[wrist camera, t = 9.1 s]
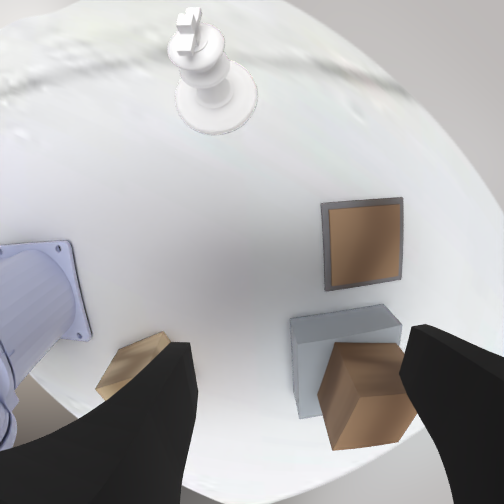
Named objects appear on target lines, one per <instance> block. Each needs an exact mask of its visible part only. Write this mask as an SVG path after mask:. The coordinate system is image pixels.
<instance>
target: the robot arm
mask: <svg viewBox="0 0 504 504" xmlns="http://www.w3.org/2000/svg"><path fill="white" fill-rule="evenodd" d="M59 246H60V247H61V251H60V250H59ZM79 333H80V334H81V335H82V336H81V335H80V334H79ZM91 337H92V335H91V331H90V328H89V324H88V321H87V317H86V313H85V310H84V306H83V302H82V298H81V293H80V289H79V285H78V280H77V275H76V270H75V265H74V260H73V254H72V248H71V244H70V243H69V242H68V241H65V240H64V241H49V242H35V243H21V244H8V245H0V504H180V494H181V484H182V478H183V473H184V468H185V464H186V459H187V455H188V450H189V446H190V442H191V437H192V433H193V428H194V424H195V419H196V410H197V399H198V388H197V382H196V376H195V371H194V365H193V359H192V352H191V346H190V343H189V342H170V343H169V344H168V345H167V346H166V347H165V348H164V349H163V350H162V351H161V352H160V353H159V354H158V355H157V356H156V357H155V358H154V359H153V360H152V361H151V362H150V363H149V364H148V365H147V366H146V367H145V368H143V369H142V370H141V371H140V372H139V373H138V374H137V375H136V376H135V377H134V378H133V379H132V380H131V381H129V382H128V383H127V384H126V385H125V386H123V387H122V388H121V389H120V390H119V391H117V392H116V393H115V394H114V395H112V396H111V397H110V398H109V399H107V400H106V401H105V402H103V403H102V404H101V405H99V406H98V407H96V408H95V409H93V410H92V411H90V412H89V413H87V414H86V415H84V416H83V417H81V418H79V419H78V420H76V421H74V422H72V423H70V424H68V425H67V426H64V427H62V428H61V429H59V430H57V431H55V432H53V433H51V434H49V435H46V436H44V437H42V438H39V439H37V440H34V441H31V442H29V443H26V444H23V445H20V446H17V447H14V448H12V447H13V444H14V441H15V438H16V433H17V423H16V419H15V417H14V415H13V413H12V410H13V409H14V408H15V406H16V405H17V404H18V402H19V399H18V398H17V396H16V393H15V391H14V390H15V389H16V388H17V386H18V385H19V384H20V383H21V382H22V380H23V379H24V378H25V377H26V376H27V375H28V373H29V372H30V371H31V370H32V369H33V368H34V366H35V365H36V364H37V363H38V362H39V361H40V360H41V358H42V357H43V356H44V355H45V354H46V353H47V352H48V351H49V349H50V348H51V347H52V346H53V345H54V344H55V343H56V342H57V341H58V340H59V338H62V339H70V340H78V341H89V340H90V339H91ZM399 376H400V378H401V381H402V384H403V386H404V389H405V391H406V393H407V396H408V398H409V399H410V401H411V403H412V405H413V406H414V408H415V410H416V412H417V413H418V415H419V417H420V418H421V420H422V422H423V424H424V425H425V427H426V429H427V431H428V432H429V434H430V436H431V438H432V439H433V441H434V443H435V445H436V447H437V449H438V452H439V454H440V457H441V460H442V462H443V465H444V468H445V471H446V474H447V477H448V481H449V484H450V488H451V492H452V497H453V501H454V504H504V357H502V356H499V355H497V354H494V353H492V352H489V351H487V350H485V349H482V348H480V347H478V346H476V345H473V344H471V343H469V342H467V341H465V340H463V339H460V338H458V337H456V336H454V335H452V334H450V333H447V332H445V331H443V330H440V329H438V328H435V327H433V326H430V325H427V324H424V325H418V326H412V327H411V331H410V335H409V339H408V343H407V347H406V350H405V354H404V358H403V361H402V364H401V368H400V371H399Z"/></svg>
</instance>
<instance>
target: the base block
mask: <svg viewBox="0 0 504 504" xmlns="http://www.w3.org/2000/svg"><path fill="white" fill-rule="evenodd" d="M290 327H291V344H292V364H293V386H294V395H295V400H296V405H297V410H298V414H299V419H304V418H310V417H316V416H322V411H321V408H320V404H319V400H318V397H317V394H318V391H319V388H320V385H321V383H322V380H323V377H324V374H325V371H326V368H327V365H328V362H329V359H330V356H331V353H332V350H333V346H334V343H335V342H347V343H397V345H398V346H399V344H400V338H401V331H402V324H401V323H400V322H399V320H398V319H397V318H396V317H395V316H394V315H393V314H392V313H391V312H390V311H389V310H388V308H387V307H386V306H385V305H384V304H379V305H374V306H369V307H363V308H357V309H351V310H346V311H339V312H333V313H327V314H320V315H313V316H306V317H299V318H291V319H290Z"/></svg>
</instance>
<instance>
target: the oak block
mask: <svg viewBox="0 0 504 504" xmlns="http://www.w3.org/2000/svg"><path fill="white" fill-rule="evenodd" d="M170 342H171V341H170V340H169V339H168V337H167V336H166V334H165V333H164V332H163V331H162V332H160V333H158V334H155V335H153V336H150V337H148V338H146V339H143V340H141V341H138V342H136V343H133V344H131V345H129V346H126V347H124V348H121V349H119V350H118V352H117V353H116V355H115V356H114V358H113V360H112V361H111V363H110V365H109V366H108V368H107V370H106V371H105V373H104V375H103V377H102V378H101V380H100V382H99V383H98V385H97V387H96V389H95V390H96V391H97V392H98V393H99V394H100V395H101V397H102V398H103V399H104V400H105V401H106V400H107V399H109V398H110V397H111V396H112V395H114V394H115V393H116V392H117V391H119V390H120V389H121V388H122V387H123V386H125V385H126V384H127V383H128V382H129V381H131V380H132V379H133V378H134V377H135V376H136V375H137V374H138V373H139V372H140V371H141V370H142V369H143V368H145V367H146V366H147V365H148V364H149V363H150V362H151V361H152V360H153V359H154V358H155V357H156V356H157V355H158V354H159V353H160V352H161V351H162V350H163V349H164V348H165V347H166V346H167V345H168V344H169V343H170ZM195 376H196V375H195Z"/></svg>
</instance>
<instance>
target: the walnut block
mask: <svg viewBox="0 0 504 504" xmlns="http://www.w3.org/2000/svg"><path fill="white" fill-rule="evenodd" d="M403 358H404V353H403V351H402V350H401V349H400V347H399V346H398V345H397V343H347V342H335V343H334V346H333V350H332V353H331V356H330V359H329V362H328V365H327V368H326V371H325V374H324V377H323V380H322V383H321V385H320V388H319V391H318V394H317V397H318V400H319V404H320V408H321V411H322V415H323V418H324V422H325V426H326V429H327V433H328V436H329V440H330V444H331V448H332V451H334V450H345V449H355V448H363V447H371V446H378V445H384V444H390V443H395V442H398V441H399V440H400V439H401V437H402V436H403V434H404V433H405V431H406V430H407V428H408V427H409V425H410V424H411V422H412V421H413V419H414V417H415V416H416V414H417V412H416V410H415V408H414V406H413V405H412V403H411V401H410V399H409V398H408V396H407V393H406V391H405V389H404V386H403V384H402V381H401V378H400V376H399V371H400V368H401V364H402V361H403Z"/></svg>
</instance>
